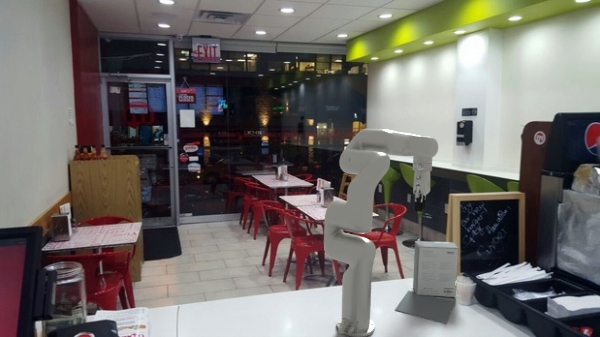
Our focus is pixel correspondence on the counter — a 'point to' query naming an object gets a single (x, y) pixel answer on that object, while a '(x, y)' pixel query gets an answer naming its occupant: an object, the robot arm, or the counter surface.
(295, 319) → the counter surface
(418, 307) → the mat
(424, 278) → the hard drive box
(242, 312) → the counter surface
